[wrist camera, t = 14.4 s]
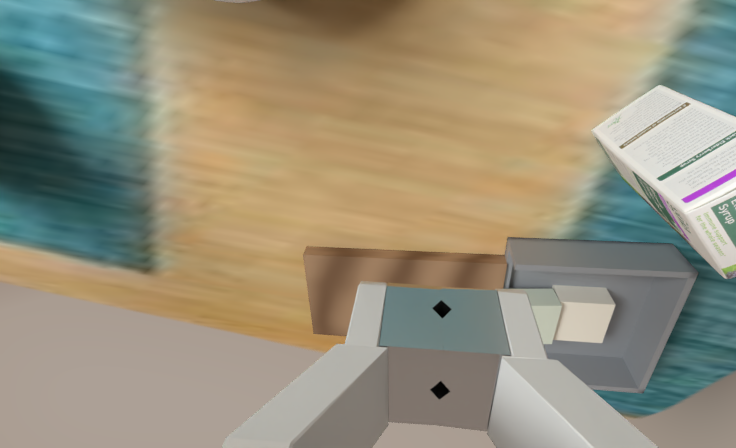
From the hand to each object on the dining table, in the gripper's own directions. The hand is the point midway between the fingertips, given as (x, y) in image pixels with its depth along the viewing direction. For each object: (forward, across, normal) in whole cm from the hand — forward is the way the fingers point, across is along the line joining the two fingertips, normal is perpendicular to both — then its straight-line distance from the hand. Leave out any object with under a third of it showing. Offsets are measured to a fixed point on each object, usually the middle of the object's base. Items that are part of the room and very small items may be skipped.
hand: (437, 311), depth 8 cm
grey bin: (+29, -15, +24) cm, 41 cm away
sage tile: (+28, -10, +24) cm, 38 cm away
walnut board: (+29, +2, +24) cm, 38 cm away
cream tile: (+29, -16, +24) cm, 40 cm away
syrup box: (+29, -17, +6) cm, 34 cm away
